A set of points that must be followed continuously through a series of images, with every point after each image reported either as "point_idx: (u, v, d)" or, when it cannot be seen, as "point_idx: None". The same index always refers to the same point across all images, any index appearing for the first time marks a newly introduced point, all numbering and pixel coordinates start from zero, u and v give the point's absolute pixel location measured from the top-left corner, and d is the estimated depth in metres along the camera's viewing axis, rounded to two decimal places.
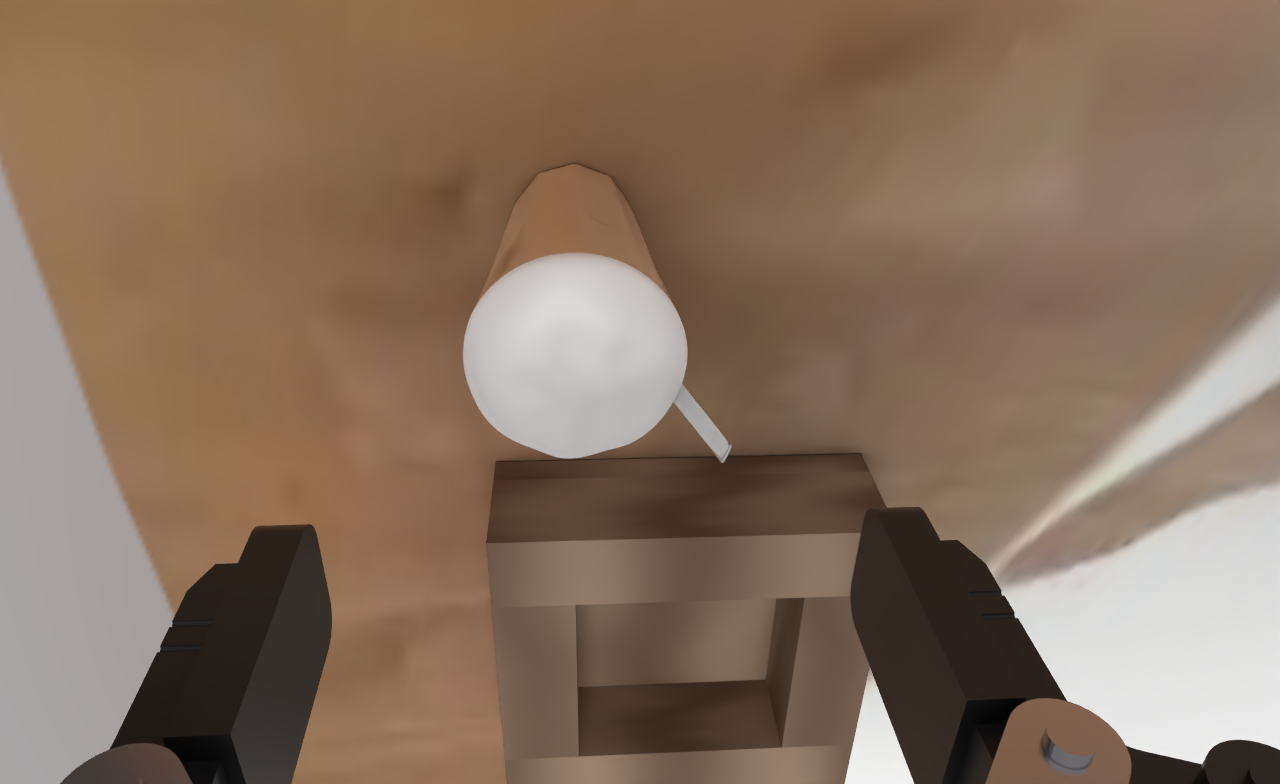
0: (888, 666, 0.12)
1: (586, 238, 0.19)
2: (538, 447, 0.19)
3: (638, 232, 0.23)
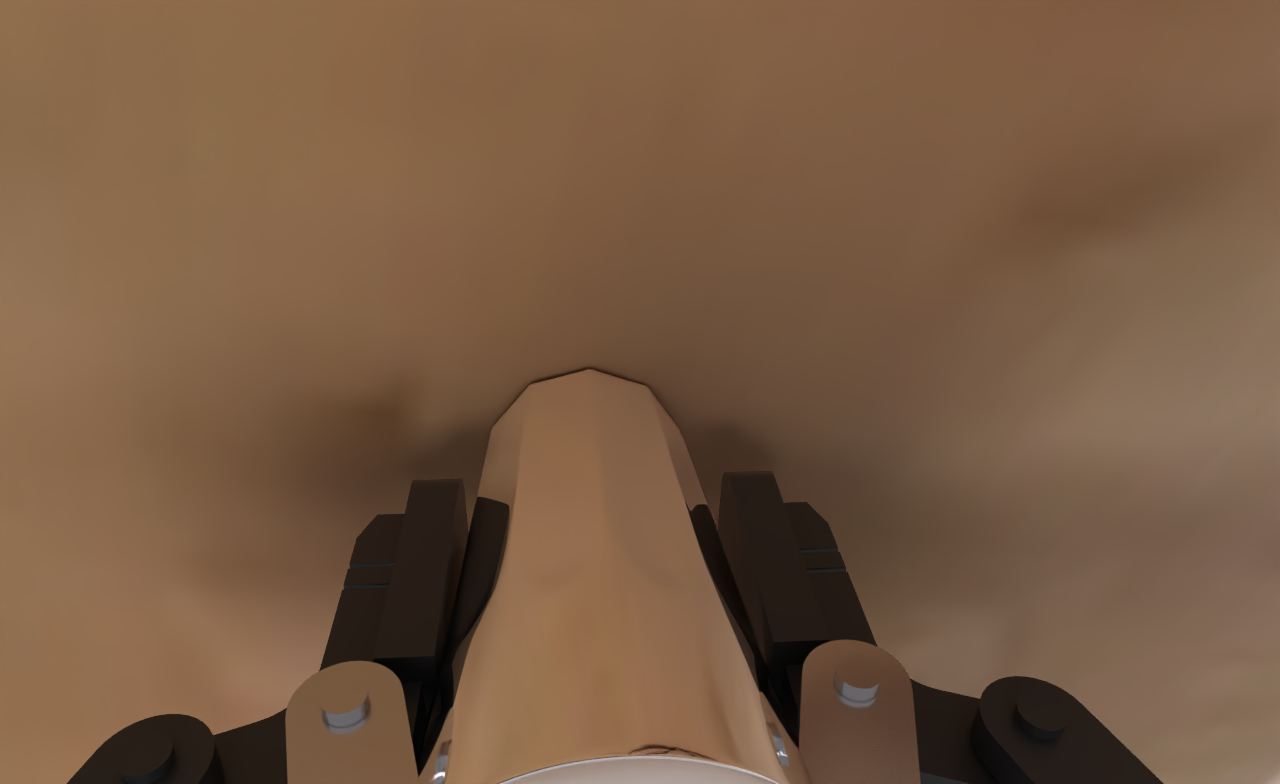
0: None
1: (640, 673, 0.09)
2: None
3: (706, 517, 0.13)
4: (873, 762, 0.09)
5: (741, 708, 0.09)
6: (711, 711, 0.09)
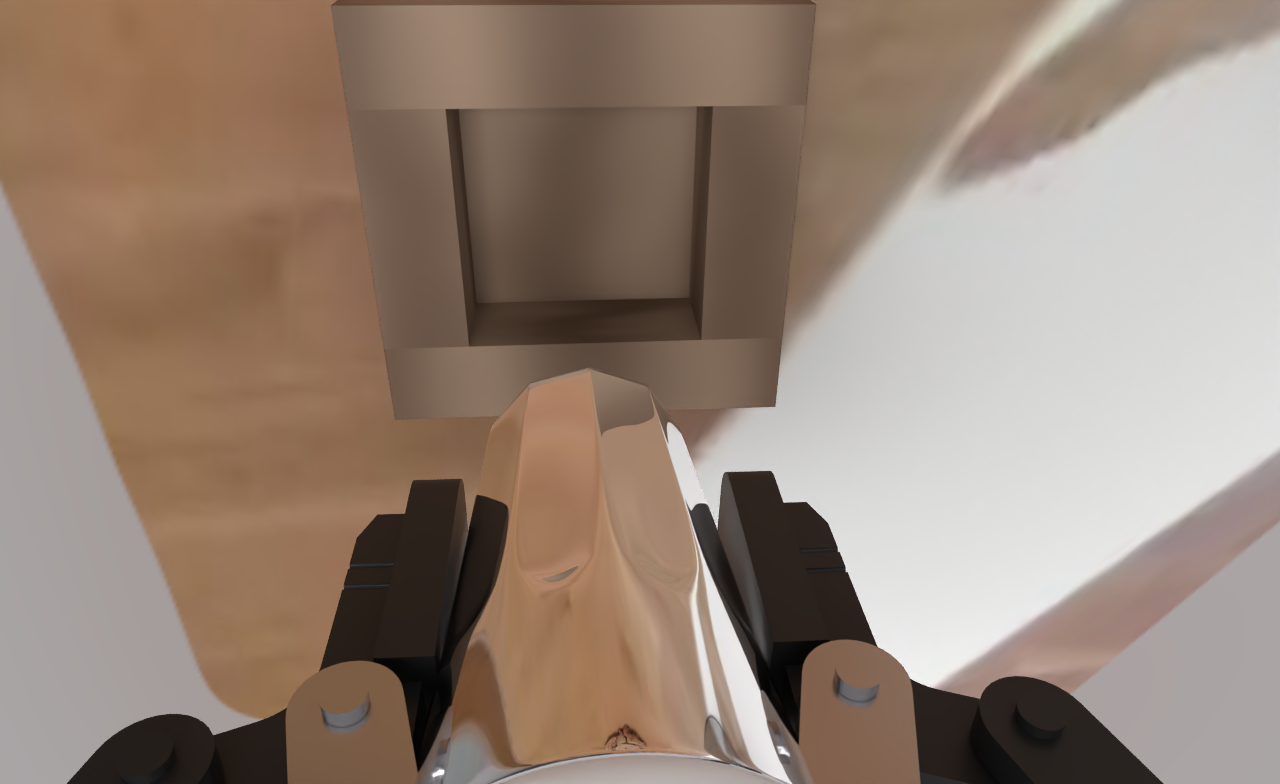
0: None
1: (640, 671, 0.09)
2: None
3: (706, 515, 0.13)
4: (873, 761, 0.09)
5: (741, 705, 0.09)
6: (711, 708, 0.09)
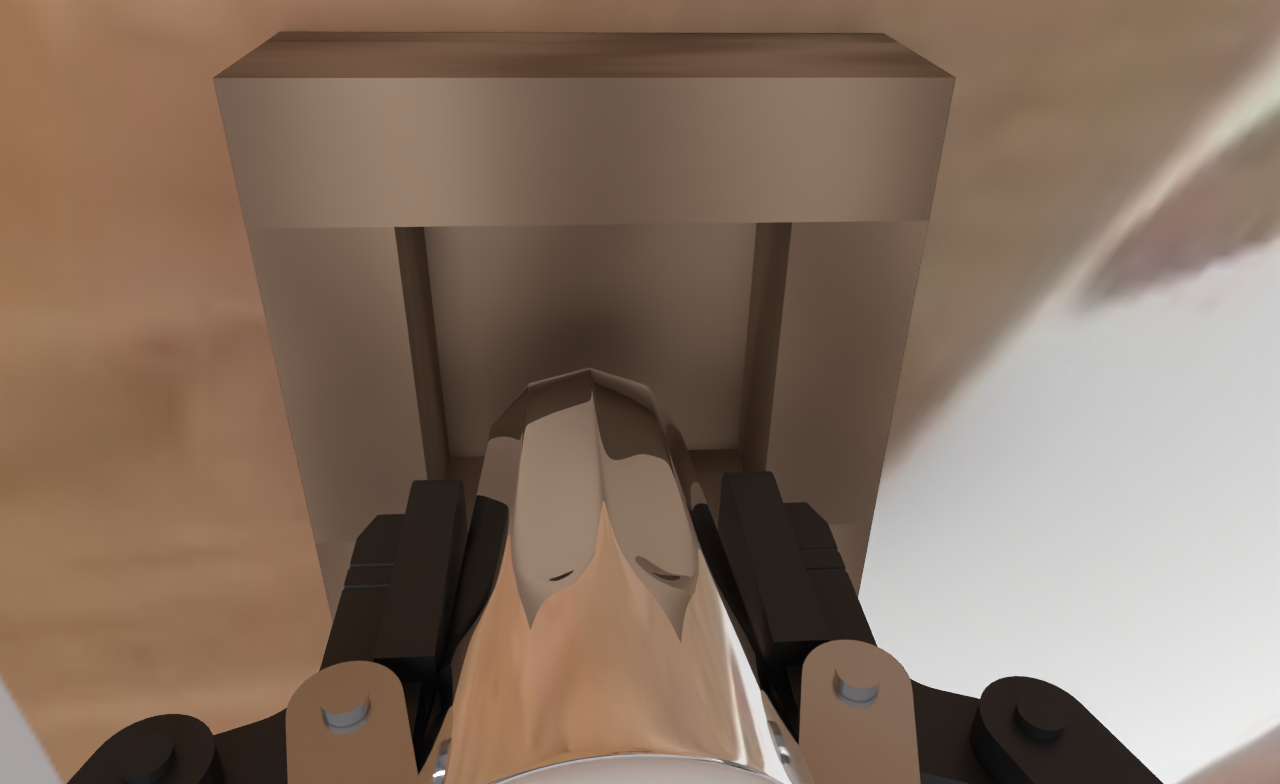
0: None
1: (641, 671, 0.09)
2: None
3: (706, 516, 0.13)
4: (873, 762, 0.09)
5: (742, 706, 0.09)
6: (712, 709, 0.09)
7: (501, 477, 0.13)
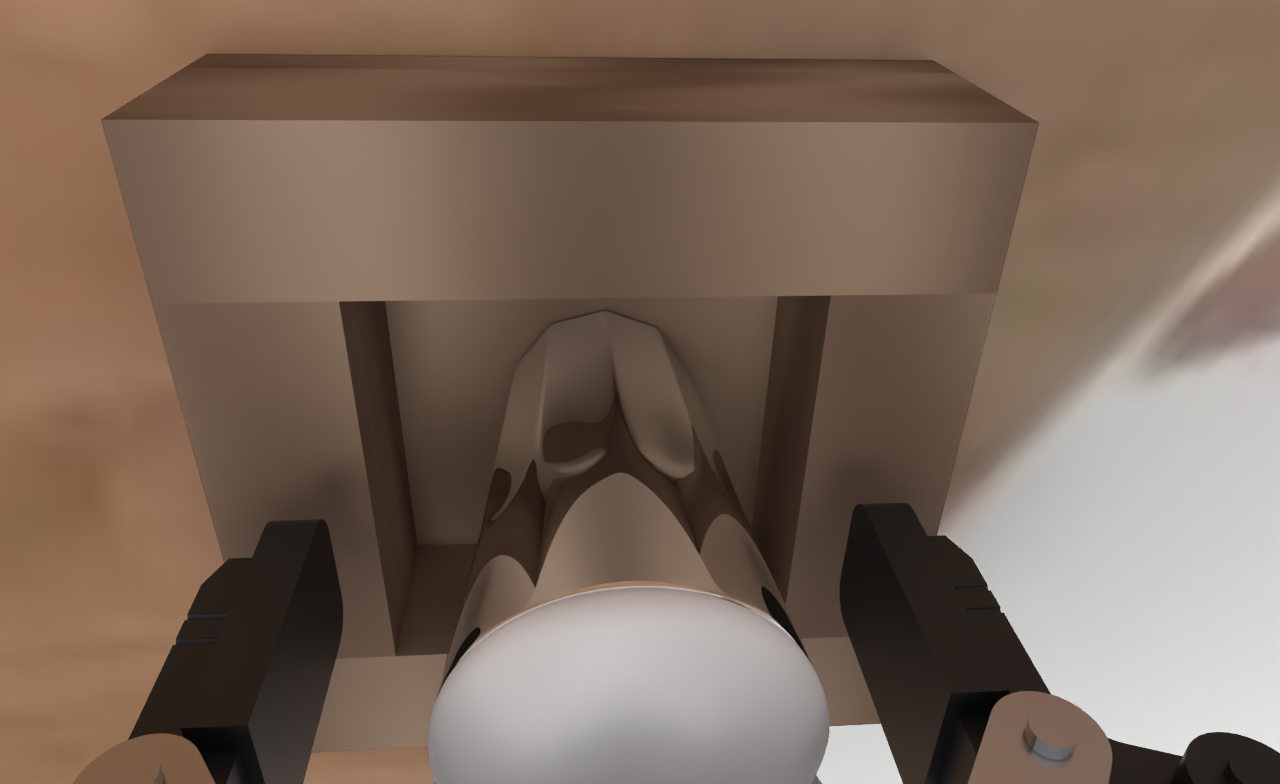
0: (875, 660, 0.13)
1: (649, 531, 0.10)
2: None
3: (708, 435, 0.15)
4: None
5: (735, 563, 0.10)
6: (709, 560, 0.10)
7: (527, 399, 0.15)
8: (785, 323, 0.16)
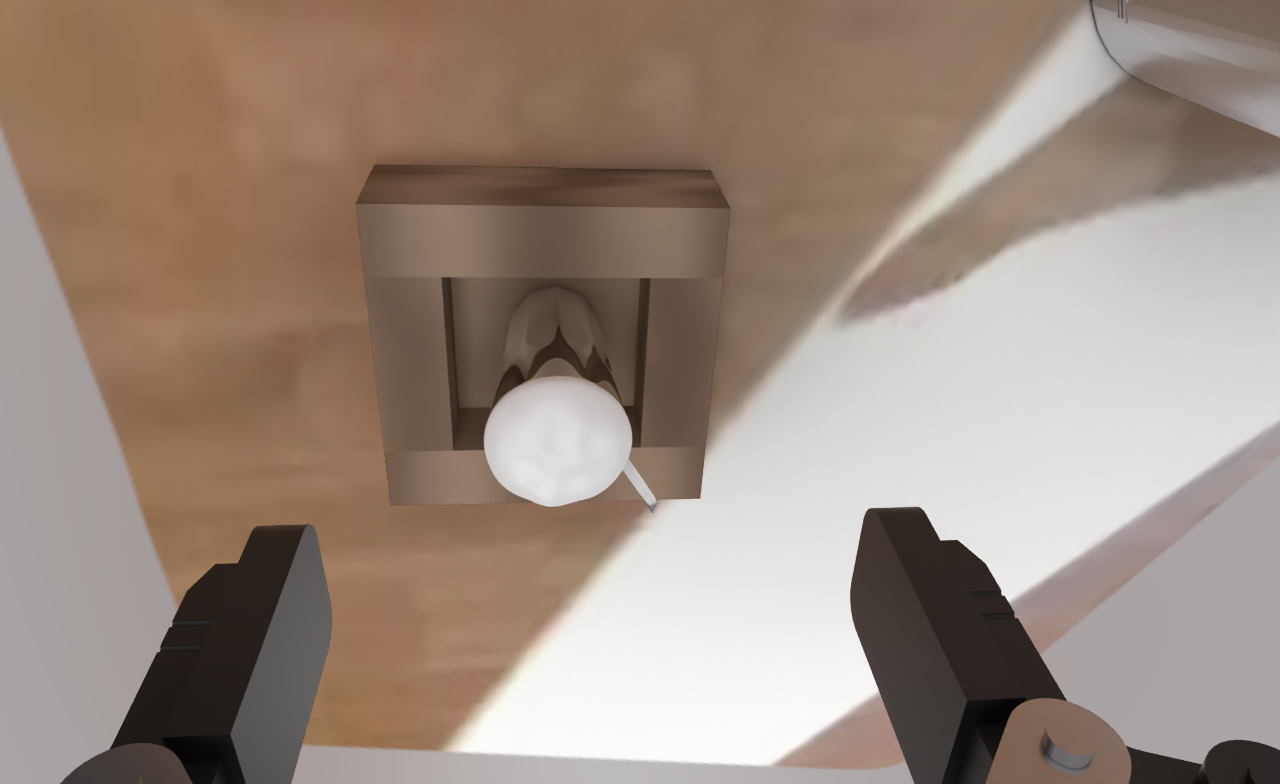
0: (888, 666, 0.12)
1: (566, 363, 0.28)
2: (532, 500, 0.28)
3: (601, 342, 0.32)
4: None
5: (598, 375, 0.28)
6: (587, 372, 0.28)
7: (519, 324, 0.32)
8: (641, 292, 0.34)
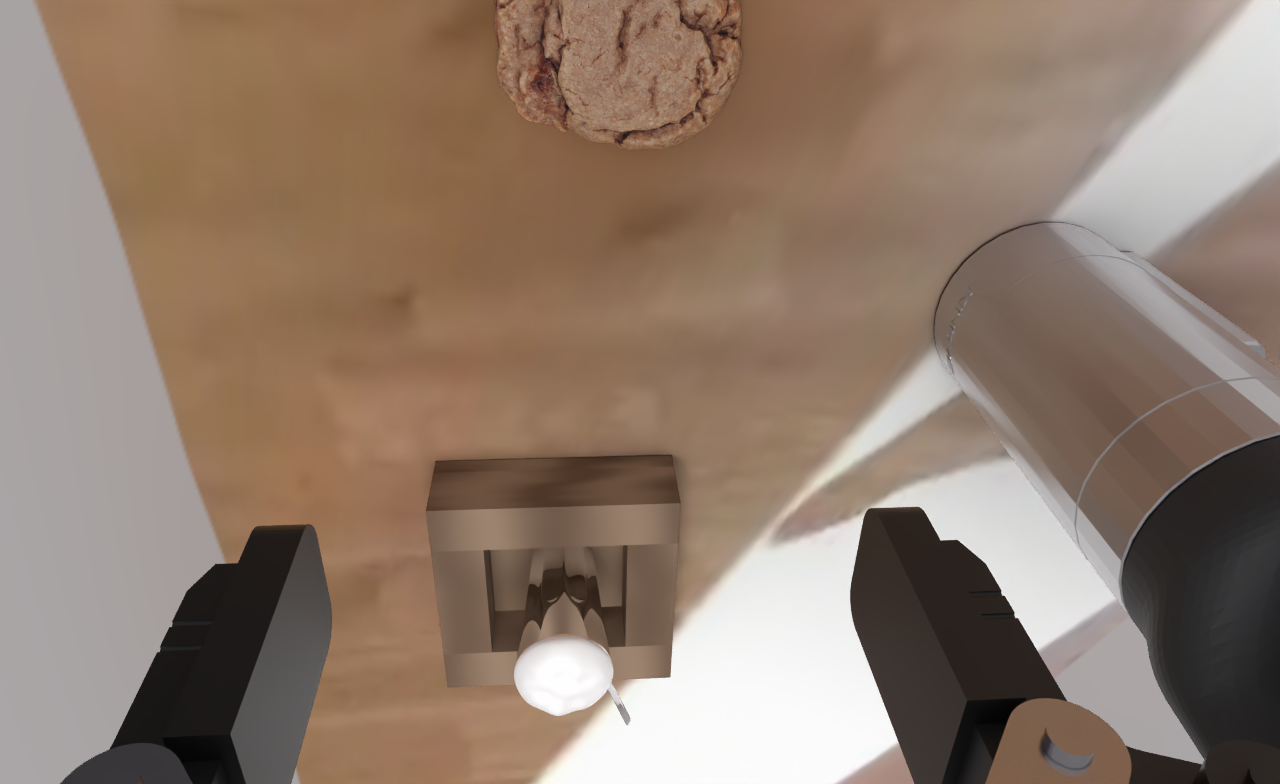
0: (888, 666, 0.12)
1: (568, 621, 0.42)
2: (547, 712, 0.42)
3: (594, 582, 0.46)
4: None
5: (590, 628, 0.42)
6: (582, 628, 0.42)
7: (537, 571, 0.46)
8: None
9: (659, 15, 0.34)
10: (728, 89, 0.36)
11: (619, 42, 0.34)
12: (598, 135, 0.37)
